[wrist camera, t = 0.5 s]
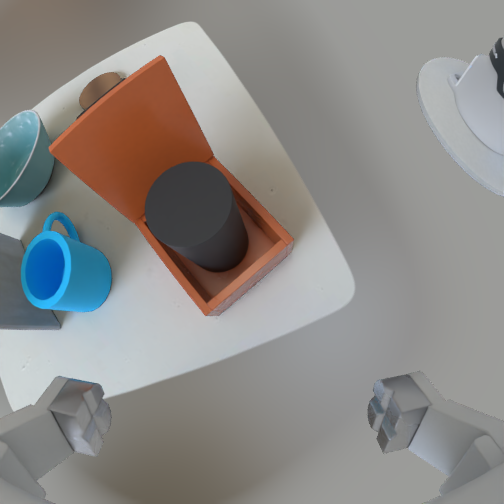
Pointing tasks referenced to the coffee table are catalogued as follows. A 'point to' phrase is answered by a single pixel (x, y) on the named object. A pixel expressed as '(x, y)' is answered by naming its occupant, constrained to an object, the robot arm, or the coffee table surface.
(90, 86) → the trivet
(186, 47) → the coffee table surface
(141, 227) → the orange open box
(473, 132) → the robot arm
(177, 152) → the orange box lid
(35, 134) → the bowl
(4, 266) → the planter
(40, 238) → the mug
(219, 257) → the tapered grey cylinder
